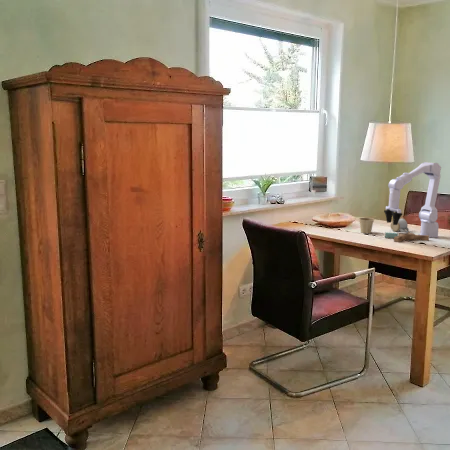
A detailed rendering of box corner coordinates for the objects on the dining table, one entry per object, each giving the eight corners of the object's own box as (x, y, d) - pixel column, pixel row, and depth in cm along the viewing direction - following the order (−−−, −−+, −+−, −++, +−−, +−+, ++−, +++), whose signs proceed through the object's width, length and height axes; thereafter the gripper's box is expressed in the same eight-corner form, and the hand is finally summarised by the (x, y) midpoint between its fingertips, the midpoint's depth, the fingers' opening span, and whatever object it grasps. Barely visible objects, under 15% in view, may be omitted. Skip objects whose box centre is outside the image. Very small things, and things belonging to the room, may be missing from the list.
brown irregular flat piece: (422, 237, 291) (423, 232, 291) (432, 242, 279) (432, 236, 278) (386, 237, 291) (387, 232, 290) (395, 242, 278) (395, 237, 277)
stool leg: (407, 238, 287) (408, 231, 287) (407, 238, 285) (408, 232, 285) (385, 236, 291) (385, 230, 291) (384, 237, 289) (385, 231, 289)
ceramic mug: (389, 230, 311) (390, 218, 309) (397, 229, 315) (398, 217, 314) (403, 233, 302) (404, 221, 301) (411, 232, 307) (412, 220, 305)
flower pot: (354, 232, 305) (355, 218, 304) (363, 230, 311) (364, 217, 310) (367, 234, 298) (368, 220, 297) (376, 232, 304) (377, 219, 303)
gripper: (381, 198, 288) (379, 221, 290) (394, 201, 274) (391, 225, 276) (393, 198, 289) (390, 221, 291) (405, 202, 275) (403, 225, 277)
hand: (391, 223), depth 284 cm, fingers open, 7 cm apart
